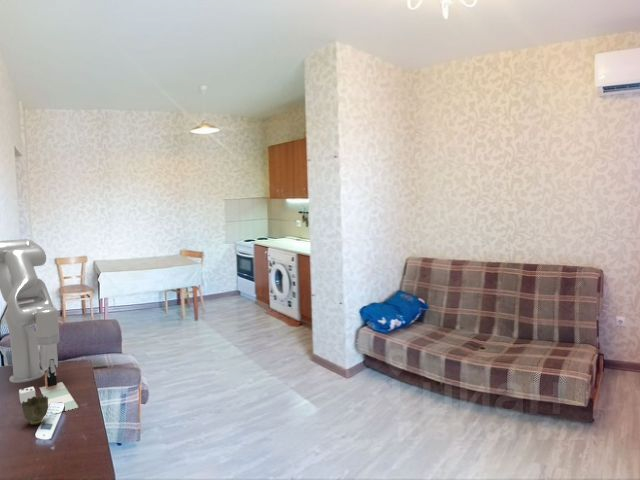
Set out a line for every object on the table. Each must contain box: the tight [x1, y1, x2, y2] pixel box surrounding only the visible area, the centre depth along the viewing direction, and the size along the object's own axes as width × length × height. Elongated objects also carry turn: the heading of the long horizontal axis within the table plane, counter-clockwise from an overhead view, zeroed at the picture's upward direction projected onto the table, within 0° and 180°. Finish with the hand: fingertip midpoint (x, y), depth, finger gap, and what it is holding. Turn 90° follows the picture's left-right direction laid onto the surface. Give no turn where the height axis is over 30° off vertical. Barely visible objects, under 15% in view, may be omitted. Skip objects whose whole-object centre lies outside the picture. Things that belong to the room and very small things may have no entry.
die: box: [18, 386, 37, 406], centre depth 163 cm, size 4×4×5 cm
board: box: [39, 381, 79, 412], centre depth 165 cm, size 30×8×1 cm, turn 40°
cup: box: [20, 395, 49, 426], centre depth 146 cm, size 8×7×8 cm
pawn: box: [44, 370, 58, 387], centre depth 174 cm, size 4×4×6 cm
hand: (51, 383), depth 174 cm, fingers closed on pawn, 4 cm apart
